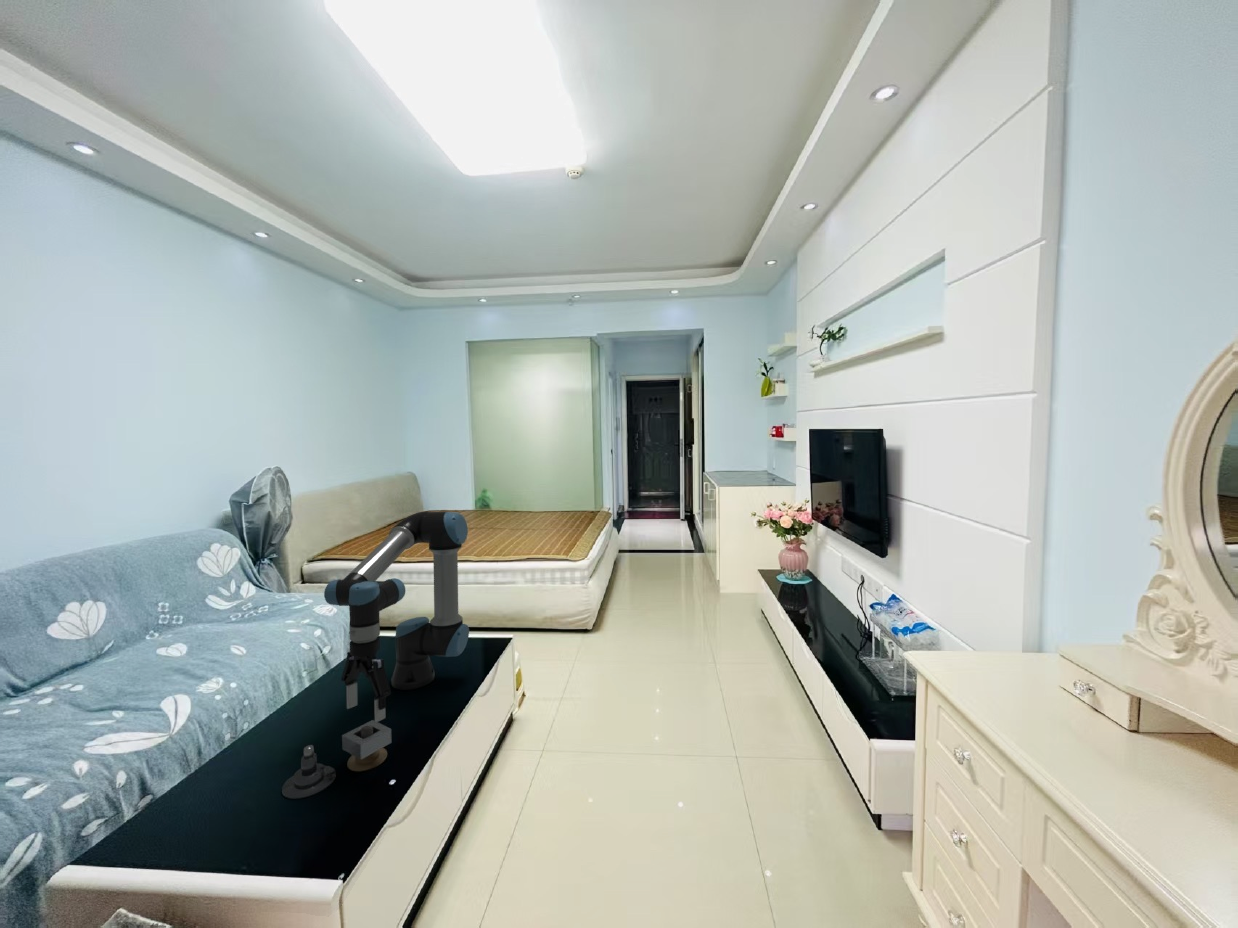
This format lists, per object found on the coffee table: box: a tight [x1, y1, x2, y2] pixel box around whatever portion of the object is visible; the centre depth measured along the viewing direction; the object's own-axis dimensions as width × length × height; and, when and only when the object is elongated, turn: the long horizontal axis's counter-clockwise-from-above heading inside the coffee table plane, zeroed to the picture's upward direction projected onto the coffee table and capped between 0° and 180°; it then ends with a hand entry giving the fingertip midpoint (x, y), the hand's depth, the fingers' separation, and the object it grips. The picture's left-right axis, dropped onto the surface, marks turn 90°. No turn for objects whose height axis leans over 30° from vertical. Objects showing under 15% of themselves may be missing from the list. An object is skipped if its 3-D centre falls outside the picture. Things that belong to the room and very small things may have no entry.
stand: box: [346, 726, 388, 772], centre depth 138 cm, size 10×10×9 cm
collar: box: [341, 719, 392, 760], centre depth 138 cm, size 9×9×4 cm
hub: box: [281, 744, 337, 800], centre depth 128 cm, size 12×12×10 cm
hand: (365, 713), depth 137 cm, fingers open, 13 cm apart
